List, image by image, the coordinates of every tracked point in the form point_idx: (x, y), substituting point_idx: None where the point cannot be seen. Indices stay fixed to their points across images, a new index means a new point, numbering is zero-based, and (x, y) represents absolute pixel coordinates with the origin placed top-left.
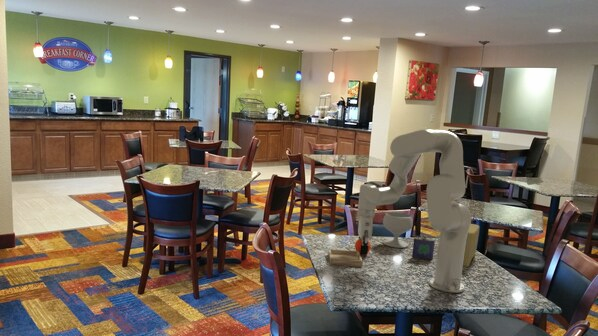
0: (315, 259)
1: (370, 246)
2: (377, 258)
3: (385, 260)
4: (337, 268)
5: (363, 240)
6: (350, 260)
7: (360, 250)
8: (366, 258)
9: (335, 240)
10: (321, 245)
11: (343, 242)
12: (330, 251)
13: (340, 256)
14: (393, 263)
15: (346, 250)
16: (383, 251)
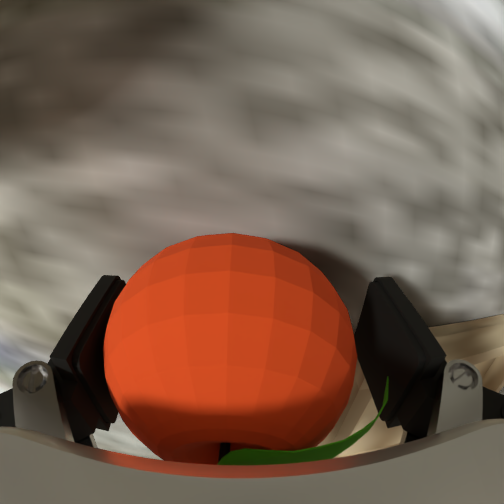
0: None
1: (254, 256)
2: (388, 132)
3: (437, 63)
4: None
5: (316, 460)
6: (500, 387)
7: (368, 370)
8: (392, 264)
9: (5, 383)
10: None
11: (2, 357)
12: None
13: (374, 427)
14: (491, 32)
15: (336, 438)
16: (68, 13)
